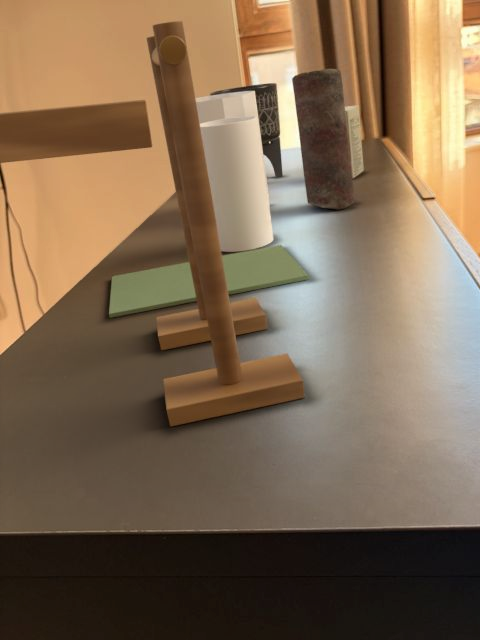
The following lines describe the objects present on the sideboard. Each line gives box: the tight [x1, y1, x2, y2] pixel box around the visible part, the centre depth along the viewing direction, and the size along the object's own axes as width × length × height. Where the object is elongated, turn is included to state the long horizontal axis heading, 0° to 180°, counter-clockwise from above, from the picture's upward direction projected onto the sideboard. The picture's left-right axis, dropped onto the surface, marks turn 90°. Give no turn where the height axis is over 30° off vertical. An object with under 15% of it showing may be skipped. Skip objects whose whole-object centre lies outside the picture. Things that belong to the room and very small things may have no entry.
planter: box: [209, 82, 283, 178], centre depth 126 cm, size 13×13×18 cm
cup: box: [200, 116, 274, 253], centre depth 85 cm, size 8×8×16 cm
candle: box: [291, 68, 355, 211], centre depth 97 cm, size 8×7×20 cm
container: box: [195, 91, 271, 207], centre depth 104 cm, size 14×14×18 cm
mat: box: [108, 244, 310, 319], centre depth 76 cm, size 14×22×1 cm, turn 101°
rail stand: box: [146, 20, 306, 427], centre depth 50 cm, size 19×10×26 cm, turn 11°
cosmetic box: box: [345, 104, 365, 179], centre depth 119 cm, size 6×4×12 cm
